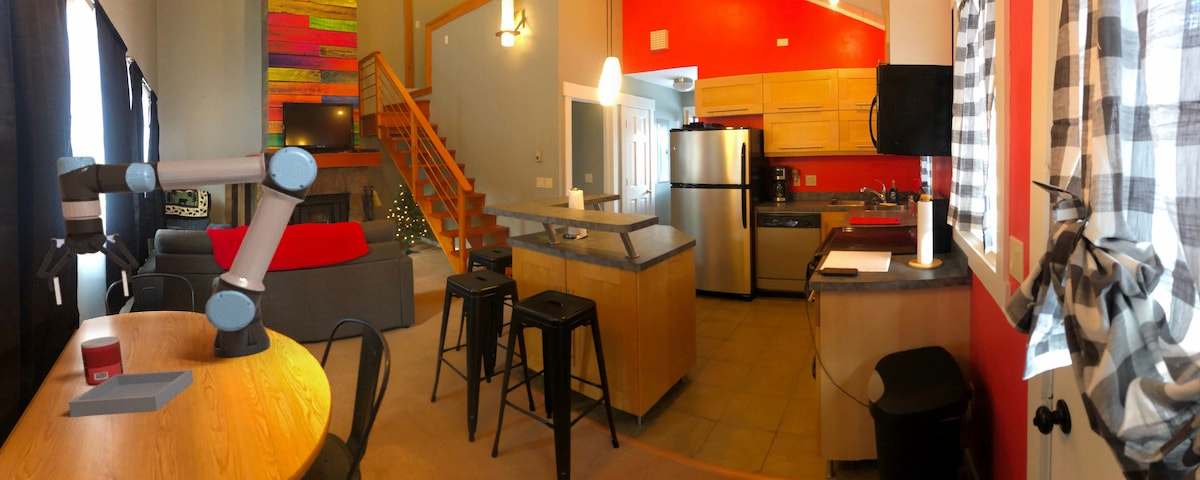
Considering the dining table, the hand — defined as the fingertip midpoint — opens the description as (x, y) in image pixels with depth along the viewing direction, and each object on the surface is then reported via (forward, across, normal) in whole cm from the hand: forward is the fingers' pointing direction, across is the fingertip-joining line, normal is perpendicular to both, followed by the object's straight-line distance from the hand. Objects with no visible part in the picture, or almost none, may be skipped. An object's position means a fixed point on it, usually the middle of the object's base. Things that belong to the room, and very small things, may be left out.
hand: (93, 299), depth 163 cm
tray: (+22, -6, +21) cm, 31 cm away
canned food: (+22, 0, 0) cm, 22 cm away
